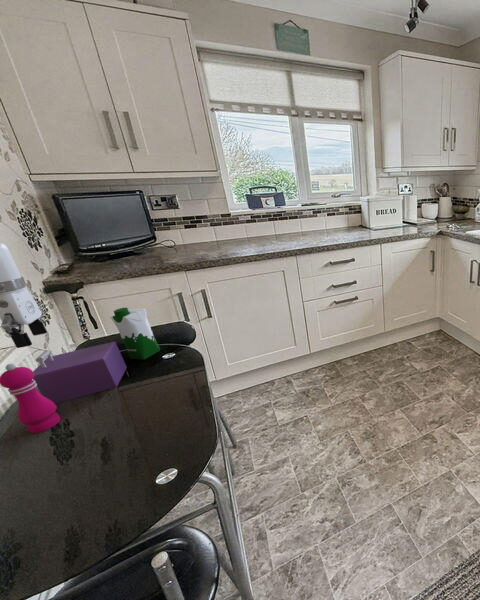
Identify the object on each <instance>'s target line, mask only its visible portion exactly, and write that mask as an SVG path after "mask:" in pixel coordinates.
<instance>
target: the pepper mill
mask: <svg viewBox="0 0 480 600" xmlns="http://www.w3.org/2000/svg"><path fill="white" fill-rule="evenodd" d="M4 369H5V371H4V372H3V373H2V374H0V386H1V387H3V388H5V389H7V392H8V393H9V395H11V396H13V397H15V399H16V400H17V403H18V408H17V419H18V421H19V423H21V424H23V425H26V429H27V431H28V432H29V433H31V434H37V433H38V434H39V433H42V432H45V431H47V430H49V429H51V428H53V427H54V426H56V425H57V424H59V422H60V421H61V417H60V414H59V413H58V412H57V409H58V407H57V404H55V403H54V402H52V401H51V400H50V399H48V398H46V397H44V396H43V395H42V394H41V392H40V391H39V390H38V388H37V383H35V380H33V377H34V373H33V371H34V370H32V369H31V368H29V367H26V366H16V364H15V363H8V364H7V365H5V367H4Z"/></svg>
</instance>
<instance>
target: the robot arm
mask: <svg viewBox="0 0 480 600" xmlns="http://www.w3.org/2000/svg"><path fill="white" fill-rule="evenodd" d="M42 315H43V312H42V310H41V309H40V306H39V305H38V303H37V301H36V300H35V298H34V296H33V295H32V293H31V292H30V291H29V289H28V287H27V284H26V282H25V281H24V278H23V275H22V274H21V272H20V270H19V269H18V267H17V264H16V262H15V260H14V258H13V255H12V253H11V252H10V249H9V248H8V246H7V245H6V244H4V243H2V242H0V321H1V324H0V326H1V328H2V329H3V330H4V331H5V333H6V334H7V335H8V336H9V337H10V338H11V340H12V342H13V343H14V345H15V347H16V348H17V349H22V348H25V347H30V346H32V345H33V343H32V340H31V338H30V337H29V334H28V333H27V332H25V325H26V326H28V328H29V331H30V332H31V334H32V336H34V337H35V336H40V335H46V334H47V333H48V331H47V328H46V326H45V324H44V322H43V318H42Z"/></svg>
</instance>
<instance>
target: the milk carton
mask: <svg viewBox="0 0 480 600" xmlns="http://www.w3.org/2000/svg"><path fill="white" fill-rule="evenodd" d="M113 314H114V315H110V316H109V318H110V319H111V321H112V322H113V324H114V326H115V327H116V329H117V331H118V333H119V335H120V337H121V340H122V342H123V344H124V346H125V349H126V352H127V354H128V357H129V359H130V360H143V361H145V360H146V359H148V358H150V357H152V356H153V355H155V354H157V353H158V352H160V351H161V348H160V346H159V344H158V342H157V339H156V337H155V335H154V332H153V329H152V327H151V324H150V322H149V320H148V315H147V309H146V308H128V307H120V308H117V309H114V310H113Z"/></svg>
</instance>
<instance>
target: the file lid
mask: <svg viewBox="0 0 480 600" xmlns="http://www.w3.org/2000/svg"><path fill="white" fill-rule="evenodd" d="M115 344H117V342H116V341H115V340H114V341H110V342H106V343H102V344H98V345H92V346H89V347H85V348H80V349H76V350H72V351H68V352H63V353H59V354H56V355H55V354H54V355H52V350H51V349H45V350H43V352H42V353H41V354H39V356H38V357H36V358H35V362H36V363H39V365H38V366H37V367H36V368H35V369H33V370H32V371H33V373H34V377H33V378H36V377H40V376H44V375H48V374H52V373H56V372H60V371H64V370H68V369H72V368H76V367H80V366H84V365H88V364H92V363H96V362H100V361H104V360H105V359H106V357H107V356H108V354H109V353H110V351H111V350H112V348H113V347H114V345H115Z"/></svg>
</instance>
